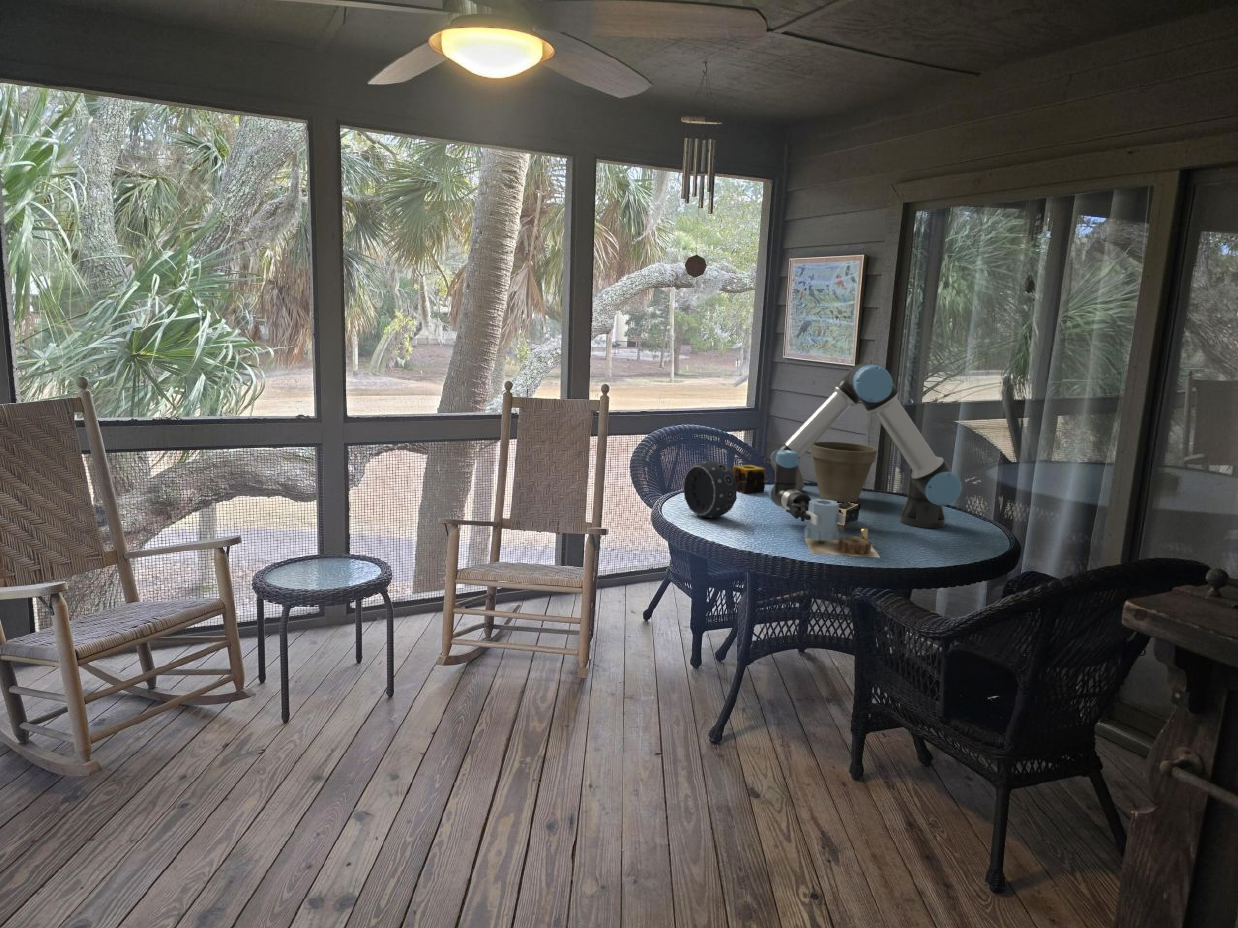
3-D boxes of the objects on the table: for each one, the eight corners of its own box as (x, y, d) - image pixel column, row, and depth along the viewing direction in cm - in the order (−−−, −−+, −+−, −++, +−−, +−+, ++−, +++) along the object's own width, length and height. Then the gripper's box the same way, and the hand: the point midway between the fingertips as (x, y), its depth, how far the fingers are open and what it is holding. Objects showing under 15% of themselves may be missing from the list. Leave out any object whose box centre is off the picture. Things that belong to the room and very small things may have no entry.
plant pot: (869, 495, 329) (874, 443, 325) (874, 508, 306) (879, 452, 302) (807, 490, 335) (811, 439, 331) (807, 503, 311) (811, 448, 307)
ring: (714, 525, 273) (718, 467, 270) (679, 512, 290) (681, 457, 286) (738, 521, 279) (742, 465, 276) (702, 509, 296) (705, 455, 292)
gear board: (868, 546, 254) (868, 541, 254) (879, 562, 237) (880, 557, 237) (804, 542, 256) (804, 537, 256) (810, 557, 239) (811, 553, 239)
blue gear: (828, 531, 256) (831, 498, 254) (844, 540, 246) (847, 505, 244) (798, 532, 254) (801, 498, 252) (813, 541, 244) (816, 506, 242)
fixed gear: (867, 547, 247) (868, 534, 246) (873, 555, 238) (874, 542, 237) (836, 545, 248) (837, 532, 247) (841, 553, 239) (842, 540, 238)
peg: (824, 542, 251) (825, 526, 250) (824, 544, 249) (826, 528, 248) (817, 541, 251) (818, 526, 250) (818, 543, 249) (819, 528, 248)
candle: (744, 494, 323) (746, 470, 321) (730, 489, 332) (731, 465, 330) (765, 492, 328) (766, 468, 326) (750, 487, 336) (751, 464, 335)
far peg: (865, 544, 251) (867, 528, 250) (867, 545, 249) (868, 530, 248) (859, 543, 251) (860, 528, 250) (860, 545, 249) (862, 529, 248)
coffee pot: (789, 486, 341) (791, 452, 338) (809, 492, 332) (812, 456, 329) (753, 491, 329) (755, 455, 326) (773, 497, 320) (776, 460, 317)
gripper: (825, 513, 269) (860, 531, 248) (766, 514, 264) (797, 533, 242) (827, 491, 268) (862, 507, 246) (768, 492, 263) (799, 509, 241)
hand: (830, 520), depth 244 cm, fingers closed on blue gear, 8 cm apart
